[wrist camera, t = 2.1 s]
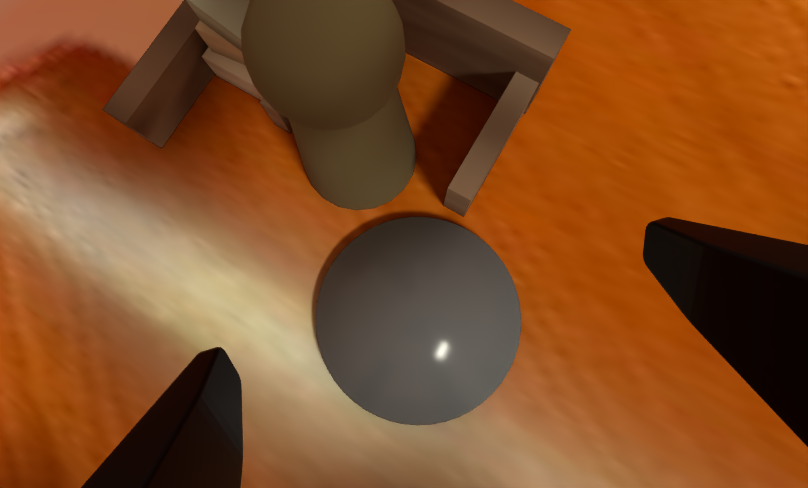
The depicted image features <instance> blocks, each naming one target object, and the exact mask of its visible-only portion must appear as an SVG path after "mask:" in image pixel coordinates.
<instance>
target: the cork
mask: <svg viewBox="0 0 808 488" xmlns="http://www.w3.org/2000/svg"><path fill="white" fill-rule="evenodd" d="M241 43H242V55H243V59H244V63H245V66H246V68H247V71H248V73H249V75H250V78H251V80H252V83H253V85H254V86H255V88H256V89H257V91H258V92H259V93H260V95H261V96H262V97H263V98H264V99H265V100H266V101H267V102H268V103H269V104H270V105H271V107H272V108H273V109H274V110H275V111H276V112H278V113H280V114H281V115H283V116H284V117H286V118H288V119H289V121H290V124H291V128H292V131H293V134H294V137H295V140H296V143H297V147H298V150H299V153H300V156H301V159H302V162H303V166H304V169H305V171H306V174H307V176H308V178H309V181H310V183H311V185H312V186H313V188H314V189H315V190H316V191H317V192H318V193H319V194H320V195H321V196H322V197H323V198H324V199H326V200H327V201H329V202H331V203H333V204H334V205H336V206H338V207H342V208H347V209H353V210H362V209H371V208H376V207H378V206H380V205H383V204H385V203H387V202H389V201H391V200H392V199H393V198H395V197H396V196H397V195H398V194H399V193H400V192H401V191H403V190H404V188H405V187H406V185H407V183H408V182H409V180H410V178H411V177H412V175H413V172H414V167H415V163H416V158H417V156H416V148H415V140H414V137H413V134H412V131H411V128H410V125H409V122H408V119H407V116H406V113H405V110H404V106H403V103H402V100H401V97H400V94H399V91H398V88H397V85H398V83H399V80H400V78H401V73H402V69H403V65H404V60H405V39H404V31H403V23H402V20H401V18H400V16H399V13H398V11H397V9H396V7H395V5H394V3H393V1H392V0H250V1H249V4H248V8H247V11H246V14H245V18H244V21H243V24H242V27H241Z"/></svg>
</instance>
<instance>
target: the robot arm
mask: <svg viewBox="0 0 808 488" xmlns="http://www.w3.org/2000/svg"><path fill="white" fill-rule="evenodd" d="M643 259H644V262H645V264H646V266H647V267H648V269H649V270H650V271H651V273H652V274H653V275H654V276H655V278H656V279H657V280H658V282H659V283H660V284H661V286H662V287H663V288H664V290H665V291H666V292H667V293H668V295H669V296H670V297H671V299H672V300H673V301H674V303H675V304H676V305H677V306H678V308H679V309H680V310H681V312H682V313H683V314H684V315H685V317H686V318H687V319H688V320H689V321H690V323H691V324H692V325H693V326H694V327H695V328H696V329H697V330H698V331H699V332H700V334H701V335H702V336H703V337H704V338H705V339H706V340H707V341H708V342H709V343H710V344H711V345H712V346H713V347H714V348H715V349H716V350H717V352H718V353H719V354H720V355H721V356H722V357H723V358H724V359H725V360H726V361H727V362H728V363H729V364H730V365H731V366H732V367H733V368H734V370H735V371H736V372H737V373H738V374H739V375H740V376H741V377H742V378H743V379H744V380H745V381H746V382H747V383H748V384H749V385H750V386H751V388H752V389H753V390H754V391H755V392H756V393H757V394H758V395H759V396H760V397H761V398H762V399H763V400H764V401H765V402H766V403H767V405H768V406H769V407H770V408H771V409H772V410H773V411H774V412H775V413H776V414H777V415H778V416H779V417H780V418H781V419H782V420H783V421H784V423H785V424H786V425H787V426H788V427H789V428H790V429H791V430H792V431H793V432H794V433H795V434H796V435H797V436H798V437H799V438H800V439H801V441H802V442H803V443H804V444H805V445H806V446H807V447H808V245H805V244H800V243H795V242H790V241H785V240H781V239H776V238H771V237H766V236H761V235H756V234H751V233H746V232H741V231H736V230H731V229H726V228H721V227H716V226H711V225H706V224H701V223H696V222H691V221H686V220H681V219H676V218H671V217H666V218H662V219H659V220H655V221H652V222H650V223H649V224H648V225H647V227H646V230H645V239H644V248H643ZM242 464H243V429H242V389H241V380H240V377H239V374H238V372H237V371H236V369H235V367H234V366H233V364H232V362H231V360H230V359H229V357H228V355H227V354H226V352H225V351H224V349H222V348H221V347H216V348H212V349H209V350H205V351H202V352H200V353H198V354H197V355H196V356H195V358H194V359H193V360H192V361H191V362H190V363H189V364H188V366H187V367H186V368H185V369H184V370H183V371H182V372H181V374H180V375H179V376H178V377H177V378H176V379H175V380H174V382H173V383H172V384H171V385H170V386H169V387H168V389H167V390H166V391H165V392H164V393H163V394H162V395H161V397H160V398H159V399H158V400H157V401H156V402H155V403H154V405H153V406H152V407H151V408H150V409H149V410H148V411H147V413H146V414H145V415H144V416H143V417H142V418H141V419H140V421H139V422H138V423H137V424H136V425H135V426H134V427H133V429H132V430H131V431H130V432H129V433H128V434H127V435H126V437H125V438H124V439H123V440H122V441H121V442H120V444H119V445H118V446H117V447H116V448H115V449H114V450H113V452H112V453H111V454H110V455H109V456H108V457H107V458H106V460H105V461H104V462H103V463H102V464H101V465H100V466H99V468H98V469H97V470H96V471H95V472H94V473H93V474H92V476H91V477H90V478H89V479H88V480H87V481H86V482H85V484H84V485H83V486H82V487H81V488H241V477H242Z"/></svg>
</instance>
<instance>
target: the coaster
mask: <svg viewBox="0 0 808 488" xmlns="http://www.w3.org/2000/svg"><path fill="white" fill-rule="evenodd" d="M520 332H521V313H520V303H519V299H518V295H517V291H516V288H515V285H514V283H513V280H512V278H511V276H510V274H509V272H508V270H507V268H506V266H505V265H504V263H503V262H502V261H501V259H500V258H499V256H498V255H497V254H496V253H495V252H494V251H493V250H492V248H491V247H490V246H489V245H488V244H486V243H485V242H484V241H483V240H482V239H480V238H479V237H478V236H476V235H475V234H473V233H472V232H470V231H469V230H467V229H465V228H463V227H461V226H459V225H456V224H454V223H451V222H448V221H445V220H440V219H435V218H429V217H406V218H400V219H395V220H391V221H388V222H385V223H382V224H379V225H377V226H375V227H373V228H371V229H369V230H367V231H365V232H364V233H362V234H361V235H359V236H358V237H356V238H355V239H354V240H353V241H352V242H351V243H349V244H348V245H347V246H346V247H345V248H344V249H343V251H342V252H341V253H340V254H339V255H338V256H337V258H336V259H335V261H334V262H333V263H332V265H331V267H330V268H329V270H328V272H327V274H326V276H325V278H324V281H323V283H322V286H321V289H320V292H319V297H318V301H317V308H316V333H317V340H318V345H319V348H320V352H321V355H322V358H323V360H324V362H325V365H326V367H327V369H328V371H329V372H330V374H331V376H332V377H333V379H334V381H335V382H336V383H337V384H338V386H339V387H340V388H341V389H342V391H343V392H344V393H345V394H346V395H347V396H348V397H349V398H350V399H351V400H353V401H354V402H355V403H356V404H358V405H359V406H361V407H362V408H363V409H365V410H367V411H368V412H370V413H372V414H374V415H376V416H378V417H381V418H383V419H386V420H389V421H392V422H397V423H402V424H410V425H429V424H436V423H441V422H446V421H449V420H451V419H454V418H457V417H460V416H462V415H464V414H465V413H467V412H469V411H471V410H473V409H474V408H476V407H477V406H478V405H480V404H481V403H483V402H484V401H485V400H486V399H487V398H488V397H489V396H490V395H491V394H492V393H493V392H494V391H495V390H496V389H497V387H498V386H499V385H500V384H501V383H502V381H503V379H504V378H505V376H506V375H507V373H508V371H509V369H510V367H511V365H512V363H513V360H514V358H515V355H516V351H517V348H518V345H519V338H520Z"/></svg>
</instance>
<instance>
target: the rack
mask: <svg viewBox="0 0 808 488" xmlns="http://www.w3.org/2000/svg"><path fill="white" fill-rule="evenodd" d="M249 1H250V0H184V1H183V2H182V4H181V5H180V6H179V8H178V9H177V10H176V12H175V13H174V14H173V16H172V17H171V18H170V20H169V21H168V22H167V24H166V25H165V26H164V28H163V29H162V30H161V32H160V33H159V35H158V36H157V37H156V38H155V40H154V41H153V42H152V44H151V45H150V47H149V48H148V49H147V51H146V52H145V53H144V55H143V56H142V57H141V59H140V60H139V61H138V63H137V64H136V65H135V67H134V68H133V69H132V71H131V72H130V73H129V75H128V76H127V77H126V79H125V80H124V81H123V83H122V84H121V85H120V87H119V88H118V89H117V91H116V92H115V93H114V95H113V96H112V97H111V99H110V100H109V102H108V103H107V104H106V106H105V107H104V108H103V111H105V112H106V113H108V114H109V115H111V116H112V117H114V118H115V119H117V120H118V121H120V122H121V123H122V124H124V125H125V126H127V127H128V128H130V129H131V130H133V131H134V132H136V133H137V134H139V135H140V136H142V137H143V138H145V139H147V140H148V141H150V142H152V143H154V144H155V145H157V146H159V147H160V148H162V147H163V146H164V144H165V143H166V141H167V140H168V139H169V137H170V136H171V134H172V133H173V132H174V130H175V129H176V127H177V126H178V125H179V123H180V122H181V120H182V119H183V118H184V116H185V115H186V113H187V112H188V111H189V109H190V108H191V106H192V105H193V103H194V102H195V101H196V99H197V98H198V96H199V95H200V94H201V92H202V91H203V89H204V88H205V87H206V85H207V84H208V82H209V81H210V80H211V78H212V77H213V75H214V74H216V75H217V76H218V77H220V78H222V79H223V80H225V81H227V82H229V83H231V84H232V85H234V86H236V87H238V88H240V89H241V90H243V91H245V92H247V93H249V94H250V95H252V96H254V97H256V98H258V99H260V100H261V102H260V104H261V105H262V107H263V108H264V109H265V111H266V112H267V114H268V115H269V117H270V118H271V119H272V121H273V122H274V124H275V125H277V126H279V127H280V128H282V129H284V130H286V131H288V132H289V133H291V132H292V128H291V124H290V121H289V119H288V118H286V117H284V116H283V115H281V114H280V113H278V112H276V111H275V110H274V109H273V108H272V107H271V105H270V104H269V103H268V102H267V101H266V100H265V99H264V98H263V97H262V96H261V95H260V93H259V92H258V91H257V89H256V88H255V86H254V85H253V83H252V80H251V78H250V75H249V73H248V71H247V68H246V66H245V63H244V59H243V55H242V43H241V27H242V24H243V21H244V18H245V14H246V11H247V8H248V4H249ZM392 1H393V3H394V5H395V7H396V9H397V11H398V13H399V16H400V18H401V20H402V23H403V31H404V39H405V52H406V53H408V54H410V55H412V56H414V57H416V58H418V59H420V60H421V61H423V62H425V63H427V64H429V65H431V66H433V67H435V68H437V69H439V70H441V71H443V72H445V73H447V74H449V75H451V76H452V77H454V78H456V79H458V80H460V81H462V82H464V83H466V84H468V85H470V86H472V87H474V88H476V89H478V90H480V91H481V92H483V93H485V94H487V95H489V96H491V97H493V98H495V99H497V100H499V102H498V103H497V105H496V107H495V108H494V110H493V112H492V114H491V115H490V117H489V119H488V120H487V122H486V124H485V125H484V127H483V129H482V131H481V132H480V134H479V136H478V137H477V139H476V141H475V142H474V144H473V146H472V148H471V149H470V151H469V153H468V154H467V156H466V158H465V159H464V161H463V163H462V165H461V166H460V168H459V170H458V171H457V173H456V175H455V176H454V178H453V180H452V182H451V183H450V185H449V187H448V189H447V193H446V197H445V201H444V205H443V206H445V207H447V208H449V209H451V210H452V211H454V212H456V213H458V214H460V215H461V216H463V217H464V215H465V214H466V212H467V210H468V208H469V207H470V205H471V203H472V201H473V200H474V198H475V196H476V194H477V193H478V191H479V189H480V187H481V186H482V184H483V182H484V181H485V179H486V177H487V175H488V174H489V172H490V170H491V168H492V167H493V165H494V163H495V161H496V160H497V158H498V156H499V155H500V153H501V151H502V149H503V148H504V146H505V144H506V142H507V141H508V139H509V137H510V135H511V134H512V132H513V130H514V128H515V127H516V125H517V123H518V122H519V120H520V118H521V116H522V115H523V113H524V114H525V113H526V111H527V110H528V108H529V106H530V104H531V103H532V101H533V99H534V97H535V96H536V94H537V92H538V91H539V89H540V87H541V85H542V83H543V81H544V79H545V77H546V76H547V74H548V72H549V70H550V68H551V66H552V64H553V63H554V61H555V59H556V57H557V55H558V53H559V51H560V49H561V48H562V46H563V44H564V42H565V40H566V38H567V36H568V35H569V33H570V31H571V29H570V28H567V27H565V26H563V25H561V24H559V23H557V22H555V21H553V20H551V19H549V18H547V17H545V16H543V15H541V14H539V13H537V12H535V11H533V10H531V9H528V8H526V7H524V6H522V5H520V4H518V3H516V2H514V1H512V0H392Z"/></svg>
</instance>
